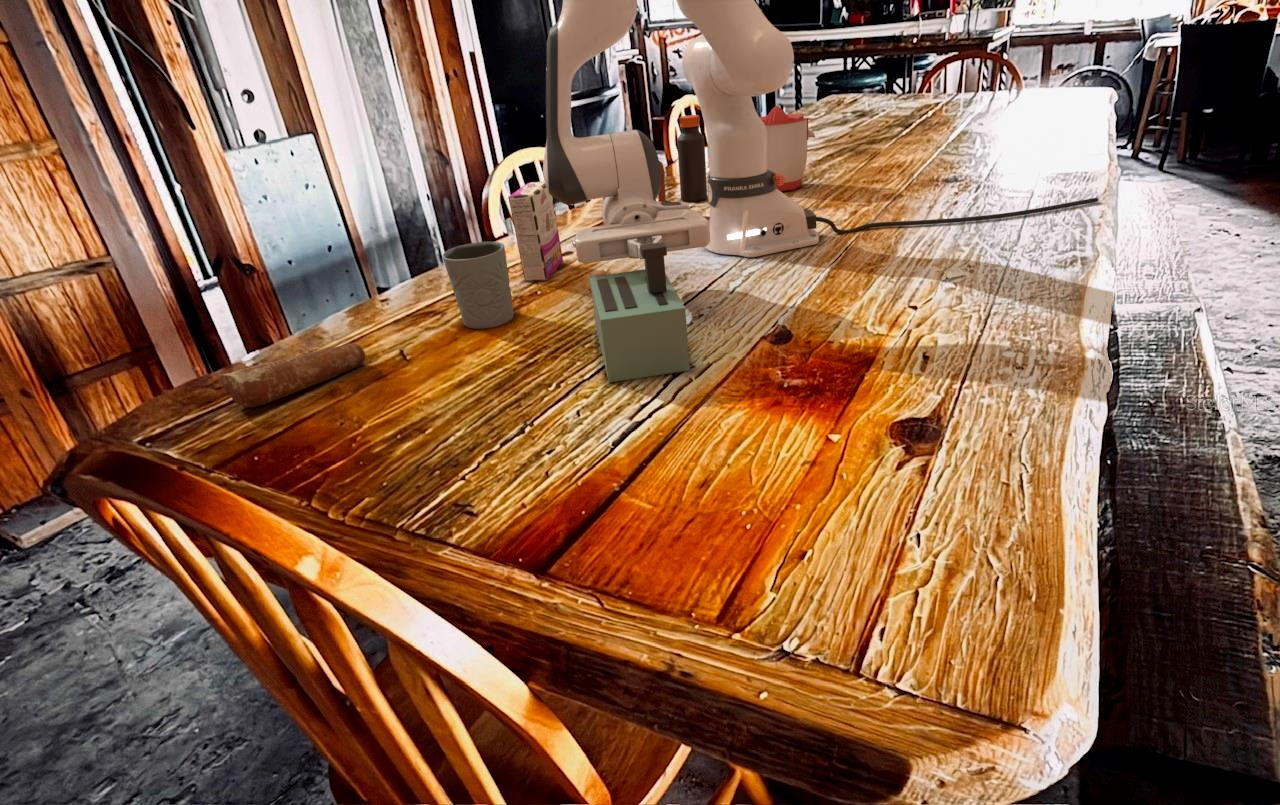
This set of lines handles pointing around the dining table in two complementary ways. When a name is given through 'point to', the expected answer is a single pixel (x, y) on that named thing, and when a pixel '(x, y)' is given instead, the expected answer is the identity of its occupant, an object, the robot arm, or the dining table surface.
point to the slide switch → (654, 266)
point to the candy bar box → (536, 231)
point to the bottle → (691, 160)
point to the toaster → (639, 327)
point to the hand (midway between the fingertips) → (649, 252)
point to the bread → (289, 374)
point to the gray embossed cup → (480, 283)
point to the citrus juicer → (787, 146)
